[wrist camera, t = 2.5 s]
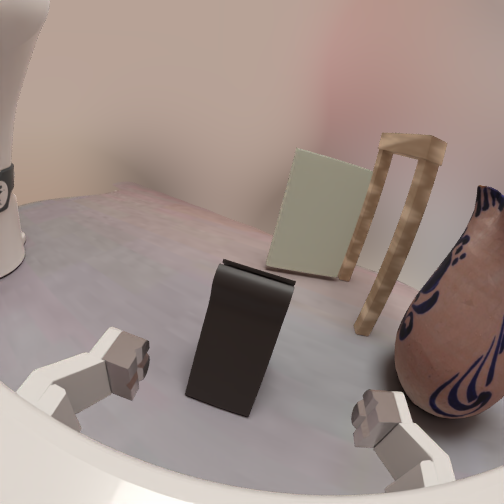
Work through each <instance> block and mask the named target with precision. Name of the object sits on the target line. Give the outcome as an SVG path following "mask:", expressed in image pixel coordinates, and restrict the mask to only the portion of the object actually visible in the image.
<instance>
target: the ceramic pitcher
mask: <svg viewBox="0 0 504 504" xmlns="http://www.w3.org/2000/svg"><path fill="white" fill-rule="evenodd" d="M395 367H396V371H397V374H398V378H399V380H400V383H401V385H402V387H403V389H404V391H405V393H406V394H407V395H408V397H409V398H410V399H411V401H412V402H413V403H414V404H415V405H417V406H419V407H420V408H421V409H424V410H425V411H427V412H429V413H431V414H433V415H435V416H438V417H443V418H465V417H470V416H473V415H476V414H479V413H481V412H483V411H485V410H487V409H488V408H490V407H491V406H492V405H494V404H495V403H496V402H498V401H499V400H500V399H501V398H502V397H503V396H504V196H503V195H502V194H501V193H500V192H499V191H498V190H496V189H494V188H492V187H487V186H481V185H479V186H478V188H477V198H476V204H475V210H474V212H473V214H472V217H471V219H470V221H469V223H468V225H467V227H466V229H465V231H464V233H463V234H462V236H461V237H460V239H459V240H458V242H457V243H456V245H455V246H454V248H453V249H452V250H451V252H450V253H449V254H448V256H447V257H446V258H445V259H444V261H443V262H442V263H441V265H440V266H439V267H438V269H437V270H436V271H435V272H434V274H433V275H432V276H431V277H430V279H429V280H428V281H427V283H426V284H425V285H424V286H423V288H422V289H421V290H420V292H419V293H418V294H417V295H416V297H415V299H414V300H413V302H412V303H411V305H410V306H409V308H408V310H407V311H406V313H405V315H404V317H403V319H402V321H401V324H400V326H399V329H398V331H397V336H396V342H395Z"/></svg>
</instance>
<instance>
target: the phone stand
mask: <svg viewBox="0 0 504 504" xmlns="http://www.w3.org/2000/svg"><path fill="white" fill-rule="evenodd" d="M223 263H224V265H223V264H219V266H218V268H217V270H216V273H215V276H214V279H213V283H212V289H211V296H210V301H209V305H208V309H207V312H206V316H205V320H204V323H203V327H202V331H201V334H200V338H199V342H198V346H197V350H196V353H195V357H194V361H193V365H192V369H191V373H190V377H189V381H188V385H187V389H186V393H185V395H188V396H190V397H193V398H195V399H198V400H200V401H203V402H206V403H208V404H211V405H214V406H217V407H220V408H222V409H225V410H228V411H231V412H234V413H237V414H240V415H244V416H247V417H248V416H249V414H250V411H251V409H252V406H253V403H254V401H255V398H256V396H257V393H258V390H259V388H260V385H261V382H262V380H263V377H264V374H265V371H266V369H267V366H268V363H269V360H270V358H271V355H272V352H273V349H274V346H275V343H276V341H277V338H278V335H279V332H280V329H281V326H282V323H283V321H284V318H285V315H286V312H287V310H288V307H289V304H290V301H291V298H292V294H293V291H294V285H295V282H296V281H293V280H290V279H286V278H283V277H280V276H277V275H273V274H270V273H267V272H264V271H261V270H257V269H254V268H251V267H248V266H245V265H241V264H238V263H235V262H232V261H229V260H226V259H223Z"/></svg>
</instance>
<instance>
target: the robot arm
mask: <svg viewBox="0 0 504 504" xmlns="http://www.w3.org/2000/svg"><path fill="white" fill-rule="evenodd" d="M49 7H50V0H0V277H2V276H5V275H6V274H8V273H10V272H11V271H13V270H14V269H15V268H16V267H18V266H19V265H20V263H21V262H22V261H23V259H24V256H25V249H24V243H25V241H26V237H25V233H24V232H21V226H20V220H19V213H18V206H17V199H16V196H15V195H14V194H13V193H12V189H13V187H14V165H13V164H12V163H11V157H12V141H13V129H14V119H15V113H16V107H17V102H18V98H19V95H20V91H21V88H22V85H23V81H24V78H25V75H26V72H27V68H28V65H29V62H30V59H31V56H32V53H33V50H34V47H35V44H36V41H37V39H38V36H39V33H40V31H41V29H42V26H43V24H44V22H45V20H46V17H47V15H48V11H49ZM148 350H149V341H148V340H145V339H143V338H140V337H137V336H135V335H132V334H130V333H127V332H125V331H122V330H119V329H117V328H114V327H110V328H108V330H107V331H106V332H105V333H104V335H103V336H102V337H101V338H100V340H99V341H98V342H97V343H96V345H95V346H94V347H93V348H92V350H91V351H90V352H89V353H86V352H84V353H82V354H79V355H76V356H73V357H70V358H68V359H65V360H62V361H59V362H56V363H53V364H50V365H48V366H45V367H42V368H39V369H36V370H34V371H33V372H32V373H31V374H30V376H29V377H28V378H27V379H26V380H25V382H24V383H23V384H22V385H21V386H20V388H19V389H18V390H17V391H16V393H15V392H14V391H13V390H11V389H10V388H9V387H7V386H6V385H5V384H3V383H2V382H1V381H0V504H504V465H503V466H500V467H498V468H495V469H492V470H489V471H486V472H483V473H480V474H477V475H474V476H470V477H467V478H463V479H460V480H455V476H454V473H453V469H452V465H451V462H450V458H449V456H448V455H447V454H446V453H445V452H444V451H443V450H442V449H441V448H440V447H439V446H438V445H437V444H436V443H435V442H434V441H433V440H432V439H431V438H430V437H429V436H428V435H427V434H426V433H425V432H424V431H423V430H422V429H421V428H420V427H419V426H418V425H417V424H416V423H413V422H412V419H411V415H410V412H409V409H408V405H407V402H406V399H405V396H404V394H403V393H402V392H397V391H383V390H371V389H369V390H367V391H366V392H365V393H364V394H363V400H361V401H359V402H357V404H356V405H355V407H354V409H353V412H352V418H351V420H352V425H353V426H354V427H355V428H356V430H355V432H354V433H353V436H354V444H355V447H361V448H374V451H375V452H376V454H377V455H378V457H379V458H380V460H381V461H382V462H383V464H384V465H385V467H386V468H387V470H388V471H389V473H390V474H391V476H392V477H393V478H394V480H395V481H394V482H393V483H392V484H390V485H389V486H387V487H386V488H385V493H379V494H366V495H302V494H288V493H278V492H269V491H261V490H254V489H248V488H242V487H236V486H231V485H226V484H221V483H217V482H212V481H208V480H204V479H200V478H196V477H192V476H188V475H185V474H181V473H178V472H175V471H171V470H168V469H165V468H162V467H159V466H156V465H153V464H150V463H148V462H145V461H142V460H140V459H137V458H134V457H132V456H129V455H127V454H124V453H122V452H120V451H117V450H115V449H113V448H110V447H108V446H106V445H104V444H102V443H100V442H97V441H95V440H93V439H91V438H89V437H87V436H85V435H83V434H81V433H80V431H81V426H80V424H79V421H78V419H77V417H76V415H75V414H77V413H79V412H81V411H83V410H84V409H86V408H88V407H90V406H91V405H93V404H95V403H97V402H99V401H100V400H102V399H104V398H106V397H107V396H109V395H111V393H113V394H115V395H118V396H120V397H123V398H126V399H128V400H131V401H132V400H133V398H134V397H135V395H136V393H137V391H138V389H139V381H141V380H143V379H144V378H145V376H146V374H147V370H148V367H149V361H150V359H149V355H148V354H147V351H148Z"/></svg>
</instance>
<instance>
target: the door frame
mask: <svg viewBox="0 0 504 504" xmlns="http://www.w3.org/2000/svg"><path fill="white" fill-rule="evenodd" d="M446 147H447V143H446V142H444V141H442V140H440V139H438V138H436V137H434V136H432V135H421V134H402V133H382V136H381V139H380V143H379V147H378V149H379V152H378V156H377V160H376V163H375V167H374V170H373V174H372V178H371V181H370V184H369V187H368V191H367V194H366V197H365V200H364V203H363V206H362V209H361V212H360V215H359V218H358V221H357V224H356V227H355V230H354V233H353V236H352V238H351V241H350V244H349V247H348V249H347V252H346V255H345V258H344V260H343V263H342V265H341V268H340V271H339V273H338V277H339V279H340V280H344V281H348V282H349V280H350V278H351V275H352V273H353V270H354V268H355V265H356V263H357V260H358V257H359V255H360V252H361V250H362V247H363V244H364V242H365V239H366V236H367V234H368V231H369V228H370V225H371V222H372V219H373V217H374V214H375V211H376V208H377V205H378V202H379V199H380V196H381V193H382V190H383V186H384V183H385V180H386V177H387V173H388V170H389V167H390V163H391V159H392V156H393V154H397V155H401V156H405V157H409V158H413V159H418V164H417V167H416V170H415V174H414V177H413V180H412V184H411V187H410V190H409V193H408V196H407V199H406V202H405V206H404V208H403V211H402V214H401V217H400V219H399V222H398V225H397V228H396V230H395V233H394V236H393V238H392V241H391V243H390V246H389V248H388V251H387V254H386V256H385V258H384V261H383V263H382V266H381V268H380V270H379V273H378V275H377V277H376V280H375V282H374V284H373V286H372V289H371V291H370V293H369V295H368V297H367V299H366V302H365V304H364V306H363V308H362V310H361V312H360V314H359V316H358V318H357V320H356V322H355V324H354V328H355V332H356V334H358V335H364V336H369V334H370V332H371V331H372V329H373V327H374V325H375V323H376V321H377V319H378V317H379V315H380V313H381V311H382V310H383V308H384V306H385V304H386V302H387V299H388V297H389V295H390V293H391V291H392V289H393V287H394V285H395V283H396V280H397V278H398V276H399V274H400V271H401V269H402V267H403V265H404V262H405V260H406V258H407V255H408V253H409V251H410V248H411V246H412V243H413V240H414V238H415V235H416V233H417V230H418V228H419V225H420V222H421V220H422V217H423V214H424V211H425V208H426V206H427V203H428V200H429V197H430V194H431V190H432V187H433V184H434V181H435V177H436V174H437V171H438V167H439V166H441V165H442V162H443V158H444V154H445V151H446Z"/></svg>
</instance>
